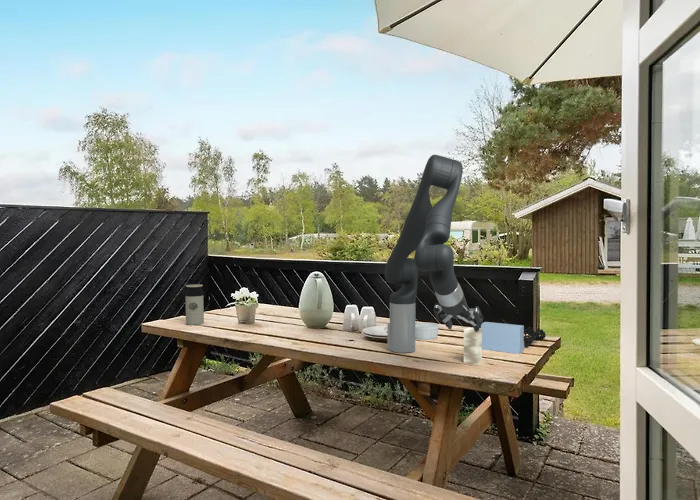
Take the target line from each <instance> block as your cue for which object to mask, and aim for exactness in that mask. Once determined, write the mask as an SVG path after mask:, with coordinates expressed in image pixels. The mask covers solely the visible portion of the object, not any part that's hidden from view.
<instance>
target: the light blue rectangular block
mask: <svg viewBox="0 0 700 500" xmlns="http://www.w3.org/2000/svg"><path fill="white" fill-rule="evenodd" d="M480 329H482V350H486V351H493V352H499V353H500V352H501V353H506V354H507V353H509V354H510V353H511V354H515V355H520V354H521V353H523V352H524V351H525V347H524V345H525V344H524V336H525V334H524V330H525V326H524V325H522V324H511V323H501V322H489V321H484V322H482V325H480Z"/></svg>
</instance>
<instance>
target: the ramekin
mask: <svg viewBox="0 0 700 500" xmlns="http://www.w3.org/2000/svg"><path fill="white" fill-rule="evenodd" d="M439 329H440V325H439V324H438V323H435V322H428V321H427V322H415V340H416V339H417V340H421V341H432V340H436V339H437V338H438V333H439Z"/></svg>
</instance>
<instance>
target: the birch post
mask: <svg viewBox="0 0 700 500" xmlns="http://www.w3.org/2000/svg"><path fill="white" fill-rule="evenodd" d="M482 352H483V349H482V329H481V328H480V329H479V331H478V332H475V331H474V328H473V327H467V328H464V329H463V364H466V365H473V366H479V365H480V364H481V363H482V360H483V359H482V358H483V357H482V355H483V354H482Z"/></svg>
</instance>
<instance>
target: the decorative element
mask: <svg viewBox="0 0 700 500" xmlns="http://www.w3.org/2000/svg"><path fill="white" fill-rule="evenodd" d="M545 338H546V332H545V331H544V330H543V329H542V328H541V329H540V328H536V330H535V329H534V328H532V327H531V326H528V327H527V328H524V349H528V348H529V347H530V344H532V343H533V342H534V341H535V340H538V339H541V340H543V339H545Z"/></svg>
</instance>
